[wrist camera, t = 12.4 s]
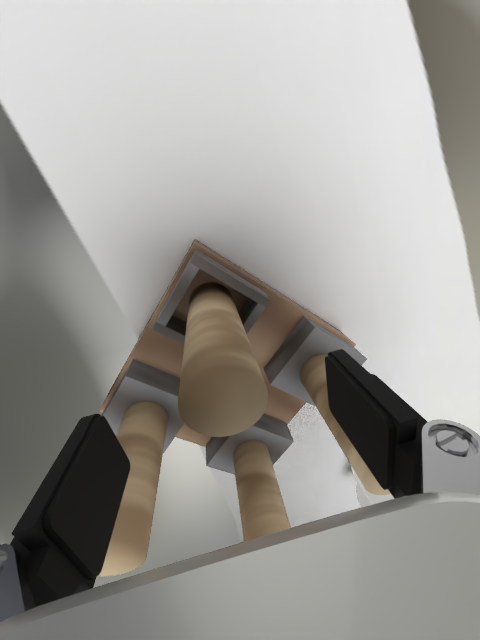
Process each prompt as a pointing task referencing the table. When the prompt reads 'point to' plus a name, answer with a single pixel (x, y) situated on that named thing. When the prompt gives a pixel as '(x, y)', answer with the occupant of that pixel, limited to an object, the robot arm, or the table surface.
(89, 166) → the table surface
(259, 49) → the table surface
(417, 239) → the table surface
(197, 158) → the table surface
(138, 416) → the stool
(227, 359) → the oak leg
